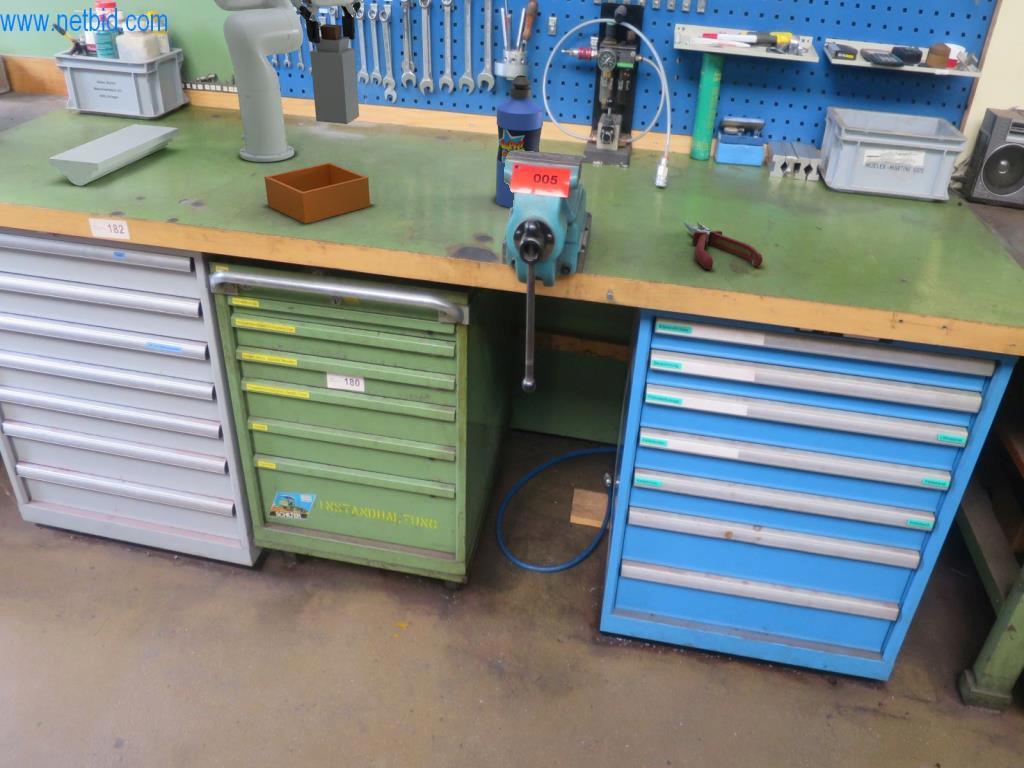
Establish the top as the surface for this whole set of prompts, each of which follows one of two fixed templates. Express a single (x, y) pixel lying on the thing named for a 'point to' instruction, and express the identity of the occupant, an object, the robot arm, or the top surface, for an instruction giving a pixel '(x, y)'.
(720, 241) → the pliers
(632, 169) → the top surface
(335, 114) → the perfume bottle
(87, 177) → the shelf
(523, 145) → the water bottle
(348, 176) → the box
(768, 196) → the top surface
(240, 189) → the top surface
